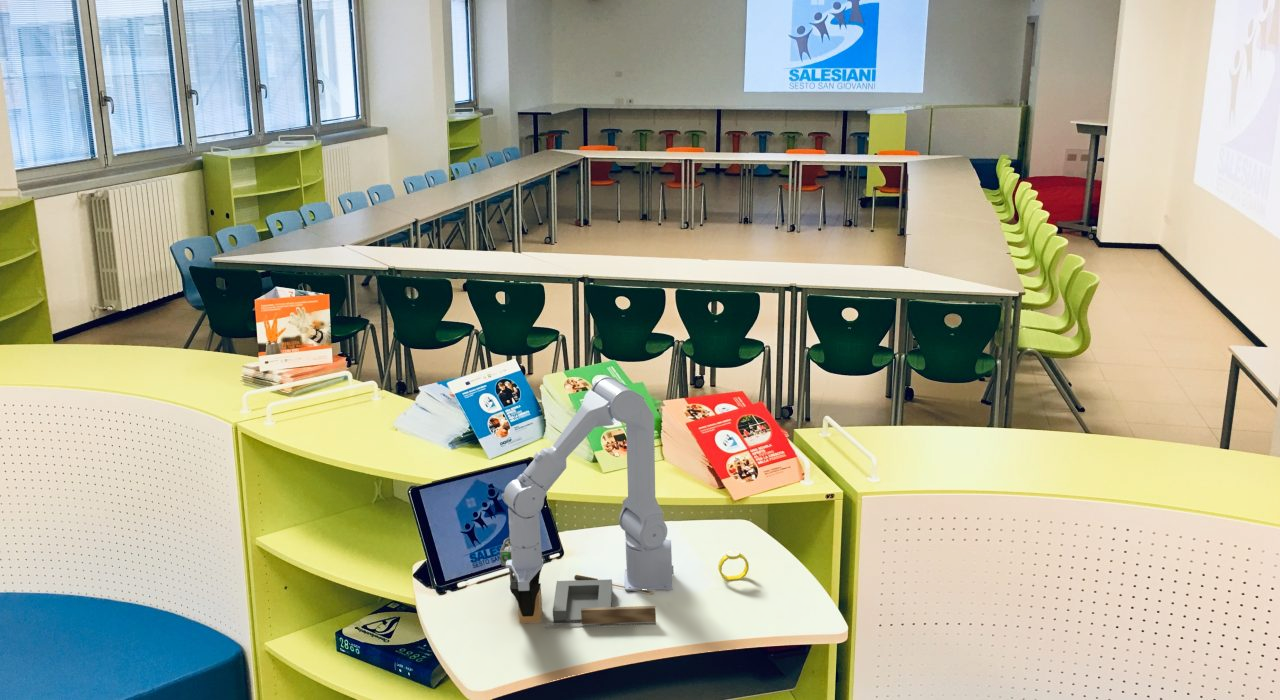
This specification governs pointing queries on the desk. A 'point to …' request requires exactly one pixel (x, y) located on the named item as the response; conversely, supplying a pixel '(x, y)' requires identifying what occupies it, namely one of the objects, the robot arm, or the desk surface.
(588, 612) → the wooden plank
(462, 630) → the desk surface
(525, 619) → the jaw block
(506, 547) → the mechanical component
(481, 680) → the desk surface
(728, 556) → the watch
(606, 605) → the housing
